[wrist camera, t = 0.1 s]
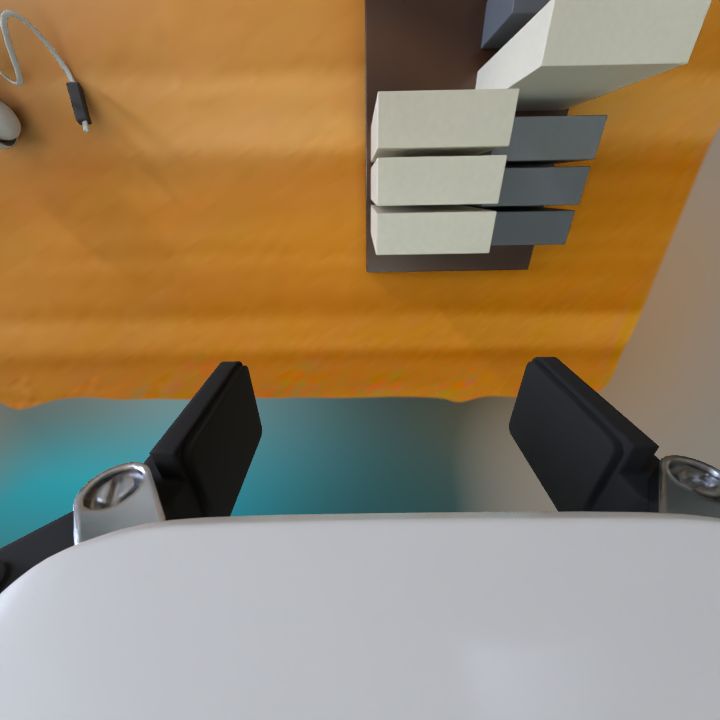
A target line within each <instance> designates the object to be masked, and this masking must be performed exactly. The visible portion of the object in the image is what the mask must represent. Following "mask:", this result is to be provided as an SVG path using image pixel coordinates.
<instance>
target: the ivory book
mask: <svg viewBox="0 0 720 720" xmlns="http://www.w3.org/2000/svg"><path fill="white" fill-rule="evenodd" d="M711 1H712V0H550V1H549V2H548V3H547V4H546V5H545V6H544V7H543V8H542V9H541V10H540V11H539V12H538V13H537V14H536V15H535V16H534V17H533V18H532V19H531V20H530V21H529V22H528V23H527V24H526V25H525V26H524V27H523V28H522V29H521V30H520V31H519V32H518V33H517V34H516V35H515V36H514V37H513V38H511V39H510V40H509V41H508V42H507V43H506V44H505V45H504V46H503V47H502V48H501V49H500V50H499V51H498V52H497V53H496V54H495V55H494V56H493V57H492V58H491V59H490V60H489V61H488V62H487V63H486V64H485V65H484V66H483V67H482V68H481V69H480V70H479V71H478V73H477V80H476V88H475V89H520V90H519V95H518V101H517V106H516V111H541V110H565V109H567V108H570V107H573V106H575V105H578V104H581V103H583V102H586V101H589V100H591V99H594V98H597V97H599V96H602V95H605V94H607V93H610V92H613V91H615V90H618V89H621V88H623V87H626V86H628V85H631V84H634V83H636V82H639V81H642V80H644V79H647V78H650V77H652V76H655V75H658V74H660V73H663V72H666V71H668V70H671V69H674V68H676V67H679V66H681V65H684V64H687V63H688V61H689V58H690V56H691V53H692V50H693V48H694V45H695V43H696V40H697V37H698V35H699V32H700V30H701V27H702V24H703V22H704V19H705V17H706V14H707V11H708V9H709V6H710V4H711Z"/></svg>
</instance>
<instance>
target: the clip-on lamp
mask: <svg viewBox="0 0 720 720" xmlns="http://www.w3.org/2000/svg"><path fill="white" fill-rule="evenodd" d="M9 16H12V17H16V18H18V19H19V20H21V21H22V22H23V23H25V24H26V25H27V26H28V27H29V28H30V29H31V30H32V31H33V32H34V33H35V34H36V35H37V36H38V37H39V38H40V40H41V41H42V42H43V43H44V44H45V45H46V46H47V48H48V49H49V50H50V52H51V53H52V54H53V55H54V57H55V58H56V59H57V61H58V62H59V64H60V65H61V67H62V68H63V70H64V71H65V73H66V75H67V77H68V79H69V81H70V82H68V83H66V85H67V88H68V92H69V96H70V99H71V103H72V107H73V110H74V114H75V118H76V120H77V122H78V123H79V124H80V125H83V131H84V132H89V128H88V125H89V124H92V122H91V118H90V115H89V111H88V107H87V104H86V100H85V96H84V93H83V89H82V87H81V86H80V84H79V83H78V82H75V80H74V78H73V76H72V74H71V72H70V70H69V69H68V67H67V66H66V64H65V63H64V61H63V60H62V59H61V57H60V56H59V55H58V53H57V52H56V51H55V50H54V48H53V47H52V46H51V45H50V43H49V42H48V41H47V40H46V39H45V38H44V37H43V36H42V34H41V33H40V32H39V31H38V30H37V29H36V28H35V27H34V26H33V25H32V24H30V23H29V22H28V21H27V20H26V19H25V18H24V17H22V16H21V15H19V14H17V13H16V12H14V11H12V10H4V11H3V12H2V14H1V29H2V33H3V37H4V41H5V44H6V47H7V50H8V53H9V56H10V59H11V61H12V64H13V67H14V70H15V74H16V77H17V81H16V82H14V81H13V80H12V79H10V78H9V77H7V76H6V75H5V74H3V73H2V72H1V71H0V75H2V76H3V77H4V78H5V79H7V80H8V81H10V82H11V83H13V84H15V85H18V86H22V85H23V83H24V81H23V76H22V72H21V69H20V66H19V63H18V60H17V57H16V54H15V51H14V48H13V45H12V42H11V39H10V35H9V32H8V24H7V20H8V18H9ZM20 132H21V125H20V122H19V119H18V118H17V116H16V115H15V113H14V112H13V111H12V110H11V109H10V108H9V107H8V106H6V105H5V104H4V103H3V101H2V100H1V99H0V149H9V148H12V147H14V146H15V145H16V144H17V141H18V136H19V135H20Z"/></svg>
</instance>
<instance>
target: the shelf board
mask: <svg viewBox="0 0 720 720" xmlns="http://www.w3.org/2000/svg"><path fill="white" fill-rule="evenodd" d="M487 1H488V0H365V99H366V270H367V272H415V271H474V270H527V269H528V266H529V262H530V258H531V254H532V250H533V246H534V245H492V246H490V250H489V253H470V254H412V255H376V252H375V248H374V244H373V240H372V236H371V205H376V204H375V203H374V202H373V201H372V200H371V167H372V166H373V164H374V163H375V162H371V125H372V119H373V114H374V109H375V104H376V99H377V94H378V92H379V91H423V90H472V89H475V88H476V80H477V73H478V71H479V70H480V69H481V68H482V67H483V66H484V65H485V64H486V63H487V62H488V61H489V60H490V59H491V58H492V57H493V56H494V55H495V54H496V53H497V52H498V51H499V50H500V49H501V48H497V49H481V43H482V36H483V28H484V20H485V13H486V5H487ZM568 109H569V108H567V109H565V110H541V111H516V112H515V117H531V116H567V113H568ZM523 167H554V164H544V165H505V168H523ZM461 205H463V206H469V207H474V208H496V207H544V205H535V206H476V205H470V204H461Z"/></svg>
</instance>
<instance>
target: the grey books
mask: <svg viewBox="0 0 720 720" xmlns="http://www.w3.org/2000/svg"><path fill="white" fill-rule="evenodd" d="M549 1H550V0H488V1H487V5H486V13H485V20H484V28H483V36H482V43H481V49H497V48H502V47H503V46H504V45H505V44H506V43H507V42H508V41H509V40H510V39H511V38H513V37H514V36H515V35H516V34H517V33H518V32H519V31H520V30H521V29H522V28H523V27H524V26H525V25H526V24H527V23H528V22H529V21H530V20H531V19H532V18H533V17H534V16H535V15H536V14H537V13H538V12H539V11H540V10H541V9H542V8H543V7H544V6H545V5H546V4H547V3H548V2H549ZM607 116H608V115H582V116H531V117H514V122H513V128H512V133H511V138H510V144H509V146H507V147H503V148H500V149H496V150H492V151H489V152H485V153H481V154H478V155H474V156H484V155H507V159H506V164H505V165H544V164H557V163H566V162H574V161H582V160H591V159H594V158H595V155H596V152H597V149H598V145H599V142H600V139H601V136H602V132H603V129H604V126H605V123H606V119H607ZM589 170H590V166H576V167H523V168H505V170H504V175H503V180H502V186H501V191H500V197H499V202H498V204H470V205H476V206H535V205H578V204H579V202H580V199H581V196H582V193H583V189H584V186H585V183H586V180H587V176H588V173H589ZM480 209H485V210H491V211H496V212H497V213H496V218H495V224H494V229H493V234H492V240H491V245H490V246H492V245H549V244H565V242H566V239H567V236H568V232H569V229H570V226H571V222H572V219H573V216H574V212H575V211H574V210H565V209H556V208H546V207H496V208H480Z"/></svg>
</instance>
